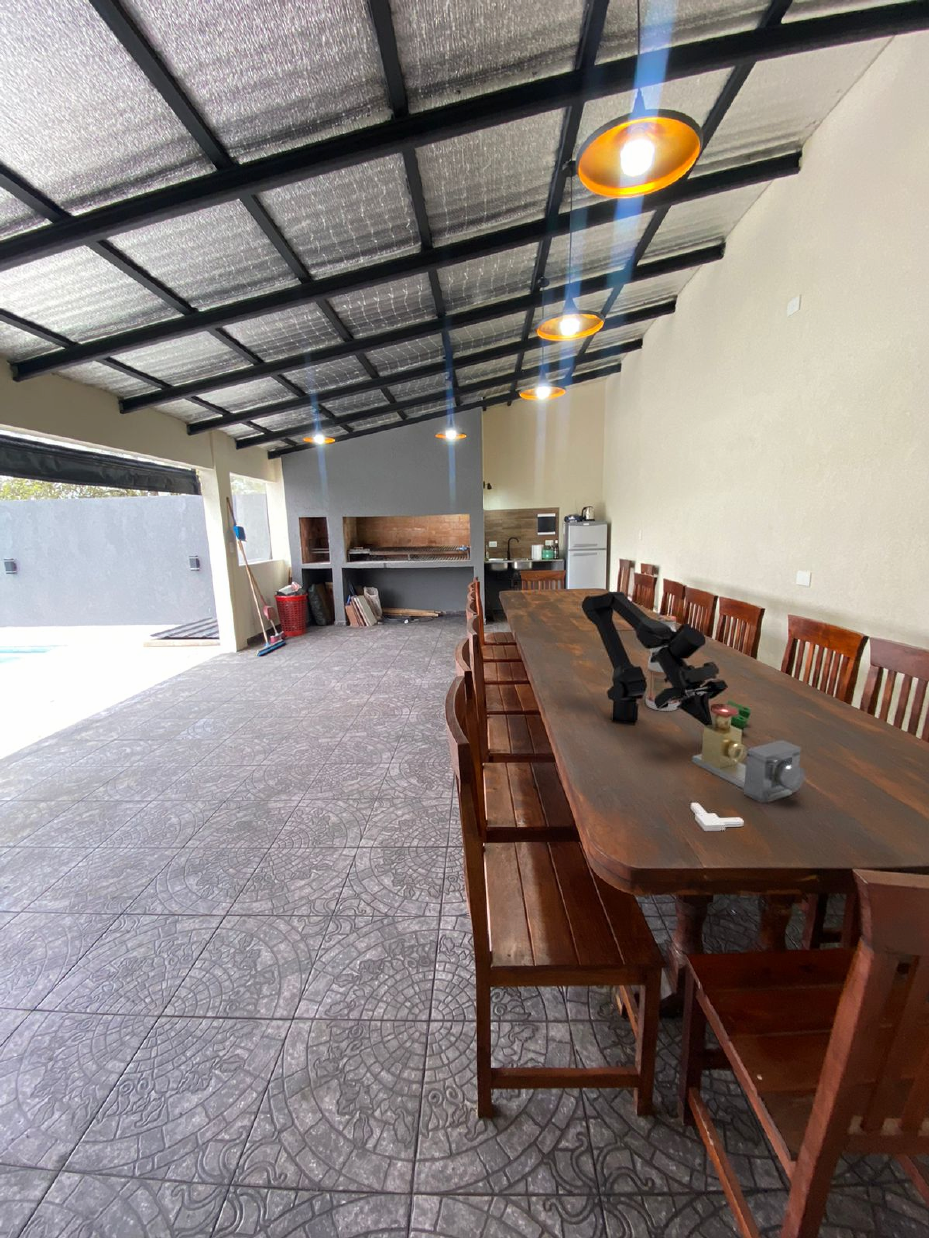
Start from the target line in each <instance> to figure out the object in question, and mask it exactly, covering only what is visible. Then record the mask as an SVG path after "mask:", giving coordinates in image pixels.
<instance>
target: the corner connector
mask: <svg viewBox="0 0 929 1238" xmlns="http://www.w3.org/2000/svg"><path fill="white" fill-rule="evenodd" d="M690 810H692V812H693V813H694V814H695V815H694V816H695V817H694V819H695V821H696V822H697V823H698V825H699V826H700V827H701V828H702V830H703V831H704V832H717V831H719V832H722V831H723V830H724V831H726V828H728V827H729V828H730V827H731V828H733V827H737V828H738V827H743V826H744V823H745V822H744V820H743V818H742V817H719V816H718V815H717V814H716V813H713V812H712V813H708V812H707V811H706V810H705V809H704V808H703V807H702V806H701V805H700V803H698V802H692V803H690ZM721 830H722V831H721Z"/></svg>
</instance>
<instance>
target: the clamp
mask: <svg viewBox="0 0 929 1238" xmlns="http://www.w3.org/2000/svg"><path fill="white" fill-rule="evenodd" d="M726 704H727V705H731V706H734V707H736V708H738V709H739V712H738V715H736V716H731V726H733V727H736V728H738V729H741V730H742V733H743V732H744V729H745V727H746V725H747V722H748V721H749V720H748V719H749V717H750V715H751V713H752V710H751V709H750V708H749V707H746V706H743V705H742V704H738V703H735V702H734V701H731V700H728V701H727V703H726Z"/></svg>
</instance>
